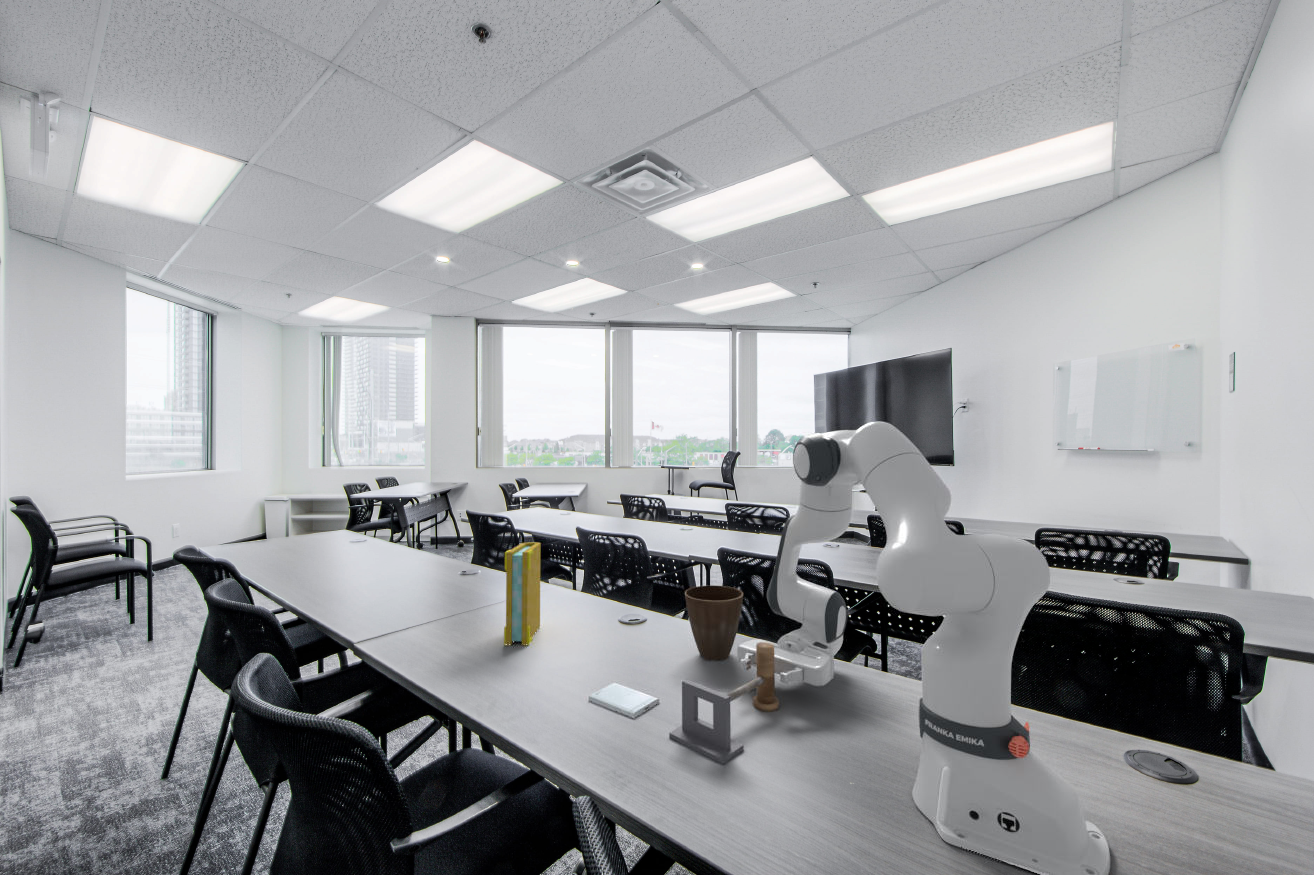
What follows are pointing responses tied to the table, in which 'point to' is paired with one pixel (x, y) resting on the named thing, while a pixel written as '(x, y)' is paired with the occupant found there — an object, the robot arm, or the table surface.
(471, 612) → the table surface
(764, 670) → the hammer
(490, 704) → the table surface
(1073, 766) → the table surface
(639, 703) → the hard drive
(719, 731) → the grey square frame stand
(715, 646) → the plant pot
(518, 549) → the book
